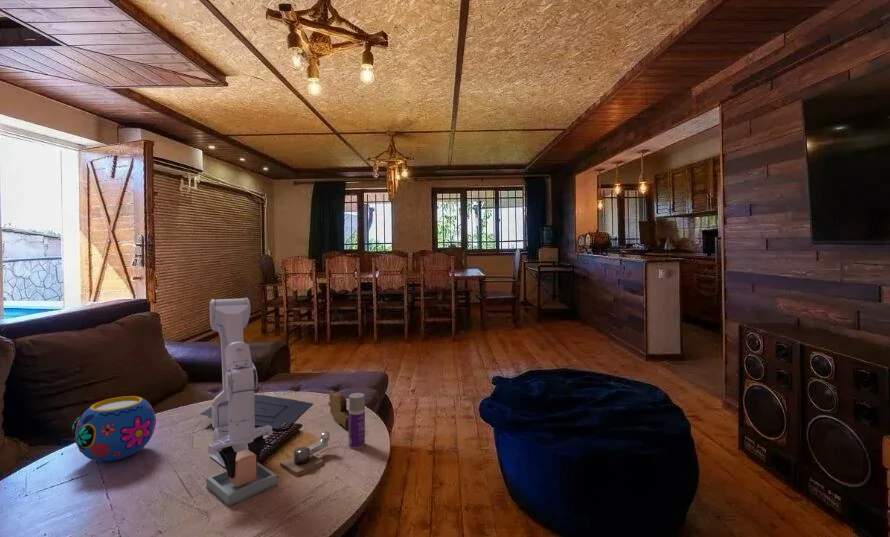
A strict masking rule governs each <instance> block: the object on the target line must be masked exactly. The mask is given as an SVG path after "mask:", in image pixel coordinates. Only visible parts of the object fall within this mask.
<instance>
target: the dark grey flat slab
mask: <svg viewBox="0 0 890 537" xmlns="http://www.w3.org/2000/svg"><path fill="white" fill-rule="evenodd" d="M223 403H229V402H228V401H224V402H221V403H220V404H223ZM313 404H314V403H312V402H308V401H302V400H298V399H292V398H285V397H277V396H269V395H264V394H261V395H260V394H255V426H259V427H263V426H267V425H269V426H271V427H272V429H275V430H280V429H279V428H280V427H281V426H282V425H283V424H284V423H293V424H294V422H295V421H296V420H297V419H298V418H299V417H300V416H301V415H302V414H303V413H304V412H305V411H307V409H309V408H310V407H311V406H312V405H313ZM199 415H200V416H206V418H208V419H209V418H210V419H212V406H211V407H209V408H207V409H206V410H204V411H203V412H201V413H199Z"/></svg>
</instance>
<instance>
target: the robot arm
mask: <svg viewBox="0 0 890 537" xmlns="http://www.w3.org/2000/svg"><path fill="white" fill-rule="evenodd" d="M250 317H251V302H250V299H249V298H248V297H243V298H224V299H222V298H220V299H219V298H218V299H215V298H212V299H211V300H210V301H209V324H210V325H209V326H210V327H211V330H212V331H215V332H217V333H218V336H219V338H220V354H221V372H222V373H221V378H222V379H221V382H222V391H221V392H219V394H217V395H216V396H215V397H214V398H213V399H212V402H211V407H212V418H211V426H212V427H213V428H214V430H213V433H212V443H210V444H208V445H207V448H208V449H207V450H208V454H209V458H211V459H212V460H214V461H215V462H216V463H218V464H219V465H221V467H224V468H226V470H227V473H228V476H229V477H230V478H231V479H232V478H235V461H236V455H237V453H238V452H241V451H243V450H246V449H248V450H249V451H251V452H253V453H254V454H256V465H257V462H258V461H259V457H260V455H261V452H262V450H263V449H264V447H265V445H266V438H264V436H272V435H273V428H272V427H271V426H269V425H267V426H259V427H256V425H255V395H256V392H255V391H257V389H258V372H257V368H256V366H255V363H254V362H253V360H252V355H251V349H250V345H249V344H248V343H246V342H244V329H245V328H246V327H247V325H248V323H249V320H250ZM224 401H228V402H229V403H223V404H220V403H221V402H224Z"/></svg>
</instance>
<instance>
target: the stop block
mask: <svg viewBox="0 0 890 537" xmlns="http://www.w3.org/2000/svg"><path fill="white" fill-rule="evenodd" d="M255 479H256V454H254V453H253V452H251V451H249V450H248V448H247V449H246V450H243V451H241V452H238V453H237V455H236V461H235V478H232V479H231V478H230V477H229V480H230V481H231V482H232V483H233V484H235V485H236V486H237V487H238V486H241V485H243V484H245V483H248V482H250V481H252V480H255Z"/></svg>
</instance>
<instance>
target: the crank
mask: <svg viewBox="0 0 890 537" xmlns="http://www.w3.org/2000/svg"><path fill="white" fill-rule="evenodd" d="M329 441H330V431H328V430H327V431H322V432H320V440H319V441H316V442H315V443H313V444H311V445H309V446H302V447H297V448H296V449H294V450H293V456H294V463H296V464H304V463H307V462H308V461H309V460H310V455H314V454H316V453H318V452H319V451H321V450H324V449H325V448H327V447H328V443H329Z"/></svg>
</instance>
